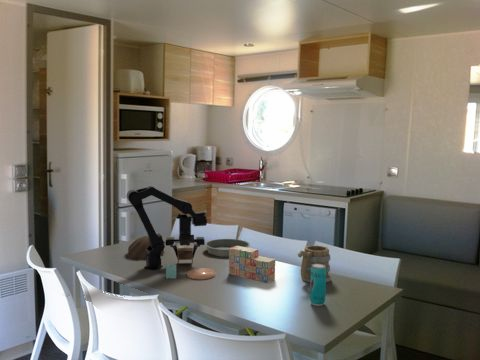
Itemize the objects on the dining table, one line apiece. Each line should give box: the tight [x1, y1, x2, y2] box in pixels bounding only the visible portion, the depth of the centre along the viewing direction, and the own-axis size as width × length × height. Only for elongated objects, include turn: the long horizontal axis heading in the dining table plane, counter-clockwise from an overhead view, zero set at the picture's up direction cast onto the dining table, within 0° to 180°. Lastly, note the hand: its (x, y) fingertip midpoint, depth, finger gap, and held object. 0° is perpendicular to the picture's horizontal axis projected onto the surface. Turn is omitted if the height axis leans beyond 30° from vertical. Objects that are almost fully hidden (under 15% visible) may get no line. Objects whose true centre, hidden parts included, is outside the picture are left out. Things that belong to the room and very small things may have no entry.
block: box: [165, 264, 177, 280], centre depth 210 cm, size 4×4×5 cm
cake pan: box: [204, 238, 251, 258], centre depth 255 cm, size 25×25×4 cm
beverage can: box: [309, 264, 327, 307], centre depth 178 cm, size 6×6×15 cm
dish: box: [186, 267, 217, 281], centre depth 213 cm, size 13×13×1 cm
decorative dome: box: [126, 235, 165, 260], centre depth 247 cm, size 19×20×10 cm
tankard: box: [297, 245, 332, 283], centre depth 206 cm, size 20×13×15 cm, turn 135°
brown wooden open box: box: [177, 245, 194, 265], centre depth 229 cm, size 7×7×7 cm
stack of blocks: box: [228, 246, 276, 283], centre depth 211 cm, size 21×6×12 cm, turn 54°
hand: (185, 258), depth 229 cm, fingers closed on brown wooden open box, 7 cm apart
